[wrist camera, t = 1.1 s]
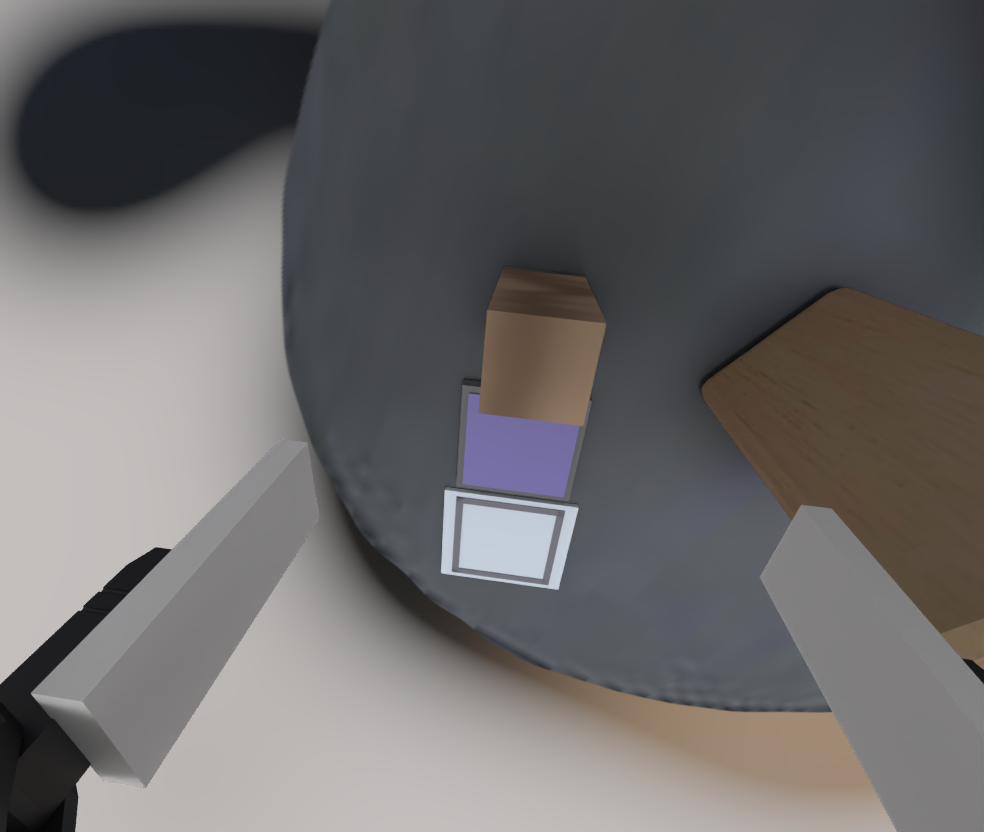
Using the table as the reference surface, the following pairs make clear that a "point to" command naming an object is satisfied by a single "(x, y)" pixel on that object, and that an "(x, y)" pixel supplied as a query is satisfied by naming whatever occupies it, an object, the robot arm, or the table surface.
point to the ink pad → (516, 451)
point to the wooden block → (875, 442)
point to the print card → (506, 537)
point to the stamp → (540, 346)
